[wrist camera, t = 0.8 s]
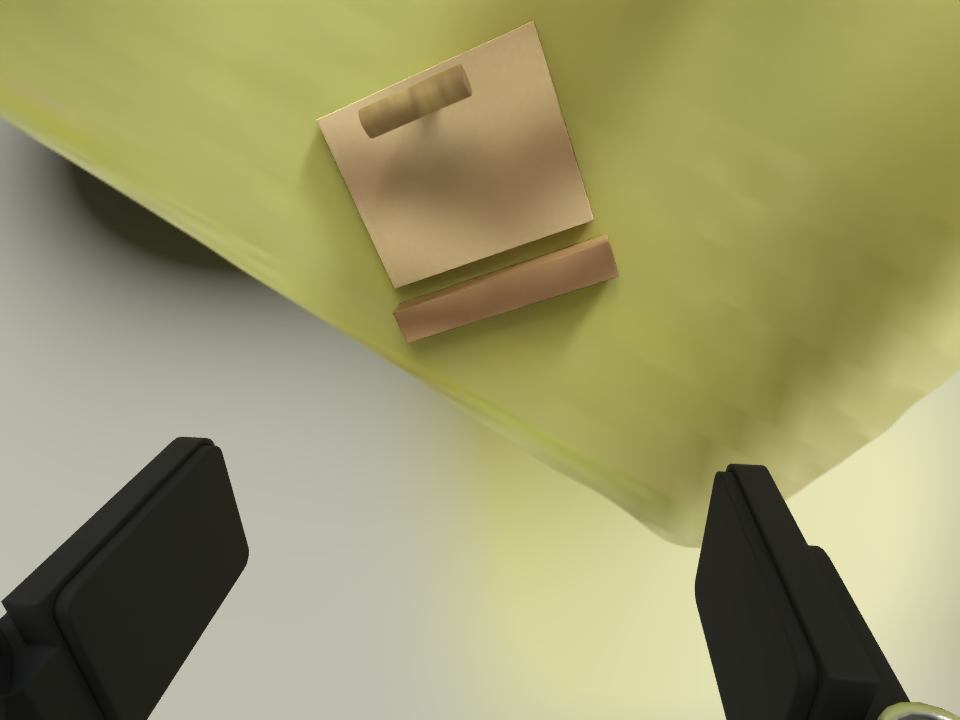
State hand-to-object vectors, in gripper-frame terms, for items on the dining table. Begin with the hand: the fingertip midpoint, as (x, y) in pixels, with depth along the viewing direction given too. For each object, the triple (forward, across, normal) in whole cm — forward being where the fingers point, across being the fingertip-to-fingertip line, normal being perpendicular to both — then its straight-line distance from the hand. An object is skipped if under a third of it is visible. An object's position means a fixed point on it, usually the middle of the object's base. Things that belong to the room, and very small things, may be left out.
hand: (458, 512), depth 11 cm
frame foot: (+29, +2, +5) cm, 29 cm away
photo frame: (+29, +4, -2) cm, 29 cm away
